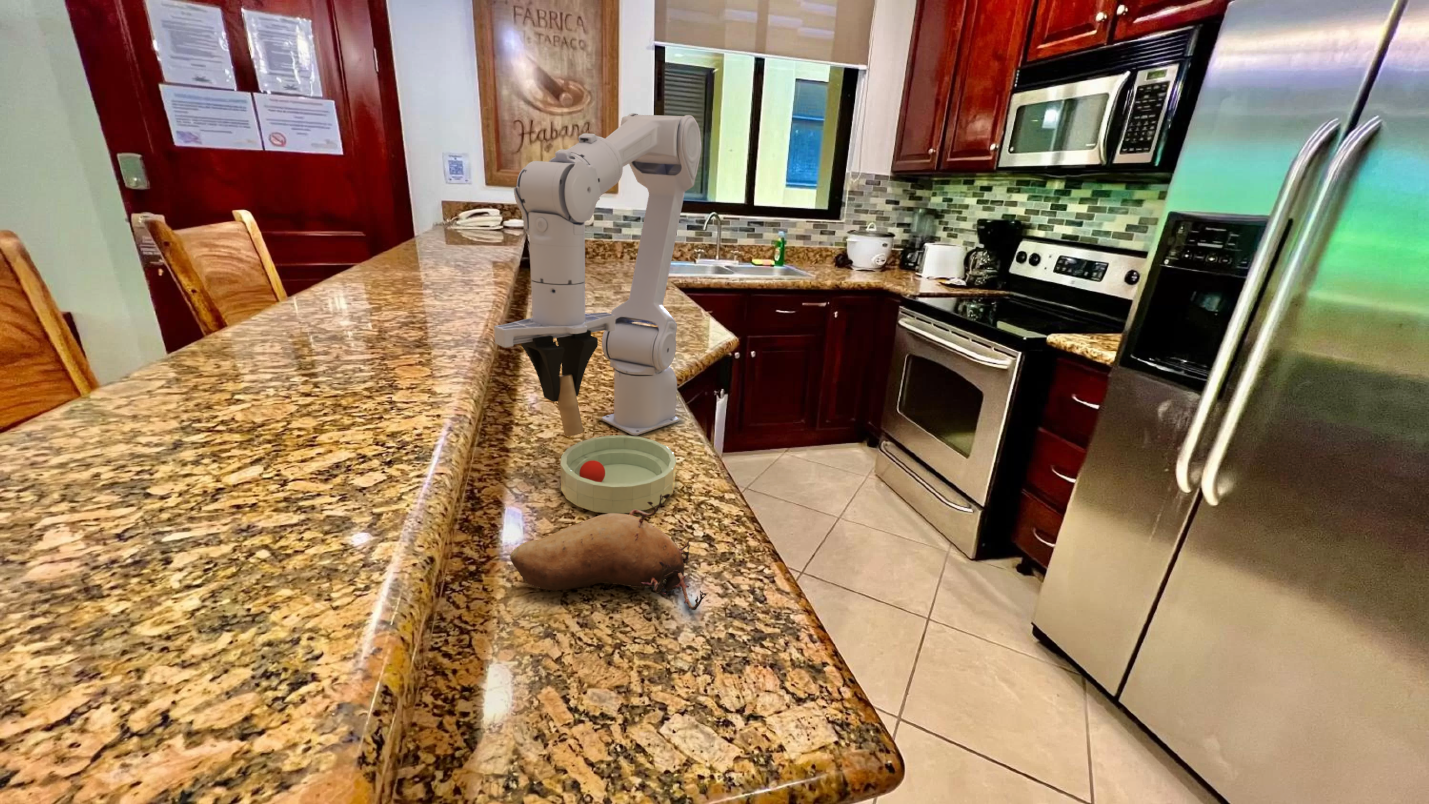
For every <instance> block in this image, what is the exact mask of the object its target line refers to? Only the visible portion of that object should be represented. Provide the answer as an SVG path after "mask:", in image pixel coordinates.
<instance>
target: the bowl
mask: <svg viewBox="0 0 1429 804" xmlns="http://www.w3.org/2000/svg"><path fill="white" fill-rule="evenodd" d="M591 460H594V461H598V462H600V463H601V464H602V465H603V466H604V468H605V477H604V479H603V481H602V482H596V481H592V480H589V479H586V478H583V477H580V474H579V472H580V468H581V467H582V465H583V464H584V463H586V462H587V461H591ZM559 467H560V469H559V470H560V490H561V493H562V495H564V497H565V499H566V500H568V501H569V502H570V503H572V504H573V505H575V506H576V507H579V508H581V509H584V510H587V511H591V512H593V513H594V512H595V513H599V514H600V513H602V514H609V513H619V514H630V511H632V510H634V509H636V510H639V511H642V512H643V511H646V510H649V509H653V507H654V508H655V507H656V506H658V505H659V502H660V495H661V494H662V496H664V495H666V494H670V496H669V497H671V496H672V495H673V492H674V490H675V488H676V475H677V474H676V473H677V459H676V456H675V452H673V451H672V450H671V448H669V447H668V446H667V445H664V444H662V443H661V442H659V441H656V440H654V439H650V438H646V437H643V436H637V435H636V436H634V435H627V434H610V435H609V434H608V435H603V436H602V435H601V436H596V437H591V438H588V439H584V440H581V441H578V442H576V443H575V444H573V445H571V446H569V447H568V448H566V449H565V451H563V453H562V455H561V456H560V465H559ZM662 496H661V498H662ZM664 501H665V502H666V500H665V499H664V498H663V499H662V500H661V504H662V503H663V502H664ZM647 502H652V503H653V504H652V506H653V507H652V506H651V505H649V504H648V503H647ZM665 502H664V503H665Z"/></svg>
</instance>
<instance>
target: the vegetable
mask: <svg viewBox="0 0 1429 804" xmlns="http://www.w3.org/2000/svg"><path fill="white" fill-rule="evenodd" d="M661 496H662V494H661V495H660V502H659V505H657V507H656V508H655V506H654V507H653V506H652V504H653V503H652V502H647V503H648V504H649V505H651V506H652V509H653V510H652V511H651V512H649V513H648V512H645V511H643V510H642V511H639V510H636V509H634V510H632V511H630V513H624V514H619V513H603V514H600V515H597V516H594V517H591V518H588V519H586V520H583V521H580V522H578V523H575V524H572V525H570V526H568V527H565V528H563V529H559V530H558V531H556V532H554V533H551V534H549V535H546V536H544V537H542V538H539V539H534V540H528V541H526V542H523V543H521V544H519V545H518V546H516V548H514V549H513V550H512V552H511V553H510V556H509V559H510V561H511V563H512V565H513V567H514V568H515V569H516V570H517V572H518V573H519V575H520V576H521V578H522V580H523V581H525V582H526V583H527V584H529V585H531V587H535V588H537V589H542V590H546V591H547V592H549V591H552V592H553V591H566V590H572V589H577V588H583V587H592V586H593V585H594V586H595V585H597V584H608V585H618V586H619V585H620V586H628V587H632V588H633V587H634V588H650V587H654V588H653V590H652V591H653V592H655V593H656V594H659V593H660V594H663V595H667V593H666V592H672V591H675V590H678V589H680V587H681V591H682V594H683V599H684V601H683V604H687V607H688V611H690V610H691V611H696V610H697V609H698V608H699V607H700V605H701V603H702V601H703V600H704V599H705V597H707V595H708V594H707V593H705V592H703V591H702V590H699V595H696V598H695V600H694V602H695V604H694V606H693V604H692V603H691V601H690V599H689V597H688V593H687V588H689V587H690V585H686V583H685V578H686V577H688V575H687V574H686V575H685V565H686V566H688V564H689V563H688V562H689V560H690V559H689V555H690V548H691V544H689V543H690V540H688V541H687V543H686V542H684V545H683V546H682V547H678V545H677V544H676V542H675V541H674V540H673V539H672V538H671V537H670V536H669V535H667V534H666V533H665V532H663V530H661V529H660V528H657V527H656V526H654V525H653V524H651V523H649V522H647V521H646V520H645V518H647V517H652V516H654V515H655V514H656V513H657V512H658V511H659V509H660V508H661V507H662V506H663V505H664V503H665V502H666V501H667V499H669V498H670V497H671V496H670V494H666V495H664V496H662V498H661ZM663 498H664V499H665V501H664V502H663V503H661V500H662V499H663ZM635 514H639V515H641V517H638V516H636V515H635ZM685 549H686V550H687V551H685V552H684V550H685ZM683 555H685V557H684V556H683ZM662 589H664V590H665V591H666V592H664V591H662ZM698 596H699V597H698Z"/></svg>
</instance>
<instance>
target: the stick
mask: <svg viewBox="0 0 1429 804" xmlns="http://www.w3.org/2000/svg"><path fill="white" fill-rule="evenodd" d="M577 397H578V396H576V392H575V387H574V382H573V377H572V374H567V375H562V374H560V394H559V398H558V401H557V405H558V410H559V414H560V419H561V425H562V429H563V433H564V436H565V437H574V436H578V435H581V434H583V433H584V427H583V422H582V417H581V412H580V407H579V402H578V398H577Z"/></svg>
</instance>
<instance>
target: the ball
mask: <svg viewBox="0 0 1429 804" xmlns="http://www.w3.org/2000/svg"><path fill="white" fill-rule="evenodd" d="M579 474H580V477H583V478H586V479H589V480H592V481H596V482H602V481H603V479H604V477H605V468H604V466H603V465H602V464H601V463H600V462H598V461H594V460H591V461H587V462H586V463H584V464H583V465H582V467H581V468H580V472H579Z"/></svg>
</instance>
